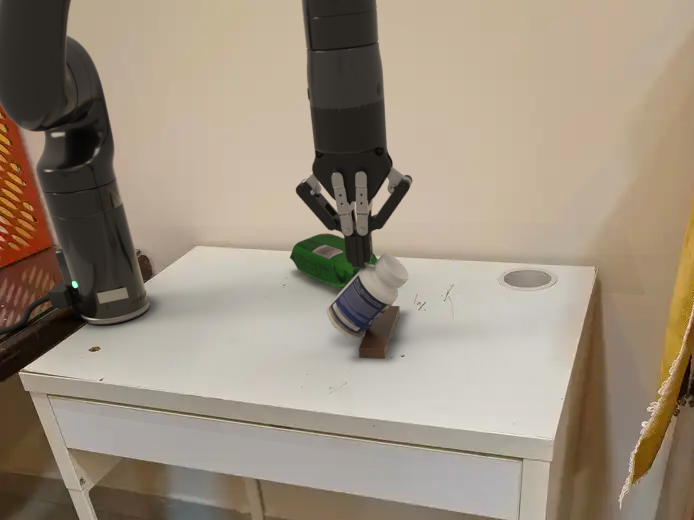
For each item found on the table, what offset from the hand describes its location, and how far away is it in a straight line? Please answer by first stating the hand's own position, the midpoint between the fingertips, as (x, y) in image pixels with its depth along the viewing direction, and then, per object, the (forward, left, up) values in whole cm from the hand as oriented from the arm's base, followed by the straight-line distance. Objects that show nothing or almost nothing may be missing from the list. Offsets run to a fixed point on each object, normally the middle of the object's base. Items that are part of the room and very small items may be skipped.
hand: (360, 265), depth 82 cm
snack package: (-8, +19, -9) cm, 23 cm away
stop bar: (+2, +1, -9) cm, 9 cm away
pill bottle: (-3, 0, -7) cm, 8 cm away
